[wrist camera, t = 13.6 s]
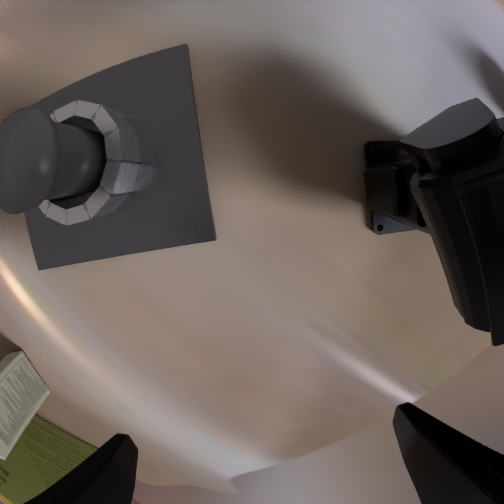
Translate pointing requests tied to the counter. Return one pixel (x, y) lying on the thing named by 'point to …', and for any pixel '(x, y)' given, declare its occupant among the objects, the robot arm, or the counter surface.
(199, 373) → the counter surface
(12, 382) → the skincare box
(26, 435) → the protein box
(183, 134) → the barrel stand
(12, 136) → the plug
